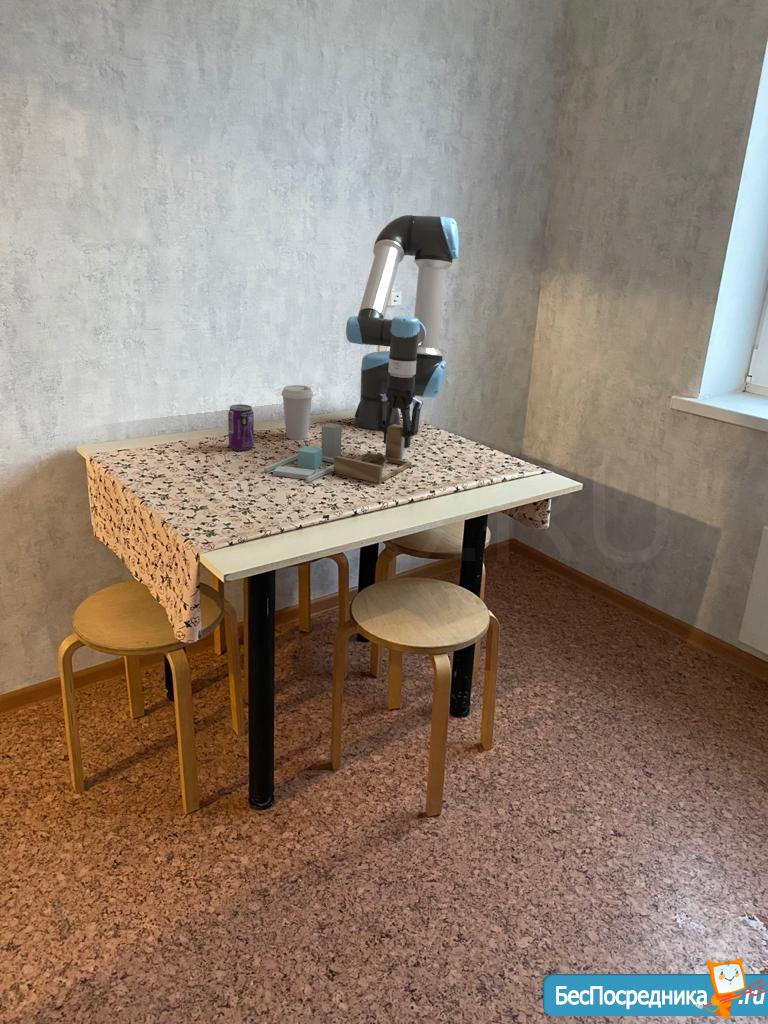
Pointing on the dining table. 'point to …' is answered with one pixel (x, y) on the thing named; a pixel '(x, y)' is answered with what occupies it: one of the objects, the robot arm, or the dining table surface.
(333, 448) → the grey open frame
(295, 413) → the coffee cup
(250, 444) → the beverage can
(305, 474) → the grey rectangular block
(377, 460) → the rock sample
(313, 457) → the teal block
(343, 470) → the brown open frame
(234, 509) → the dining table surface
